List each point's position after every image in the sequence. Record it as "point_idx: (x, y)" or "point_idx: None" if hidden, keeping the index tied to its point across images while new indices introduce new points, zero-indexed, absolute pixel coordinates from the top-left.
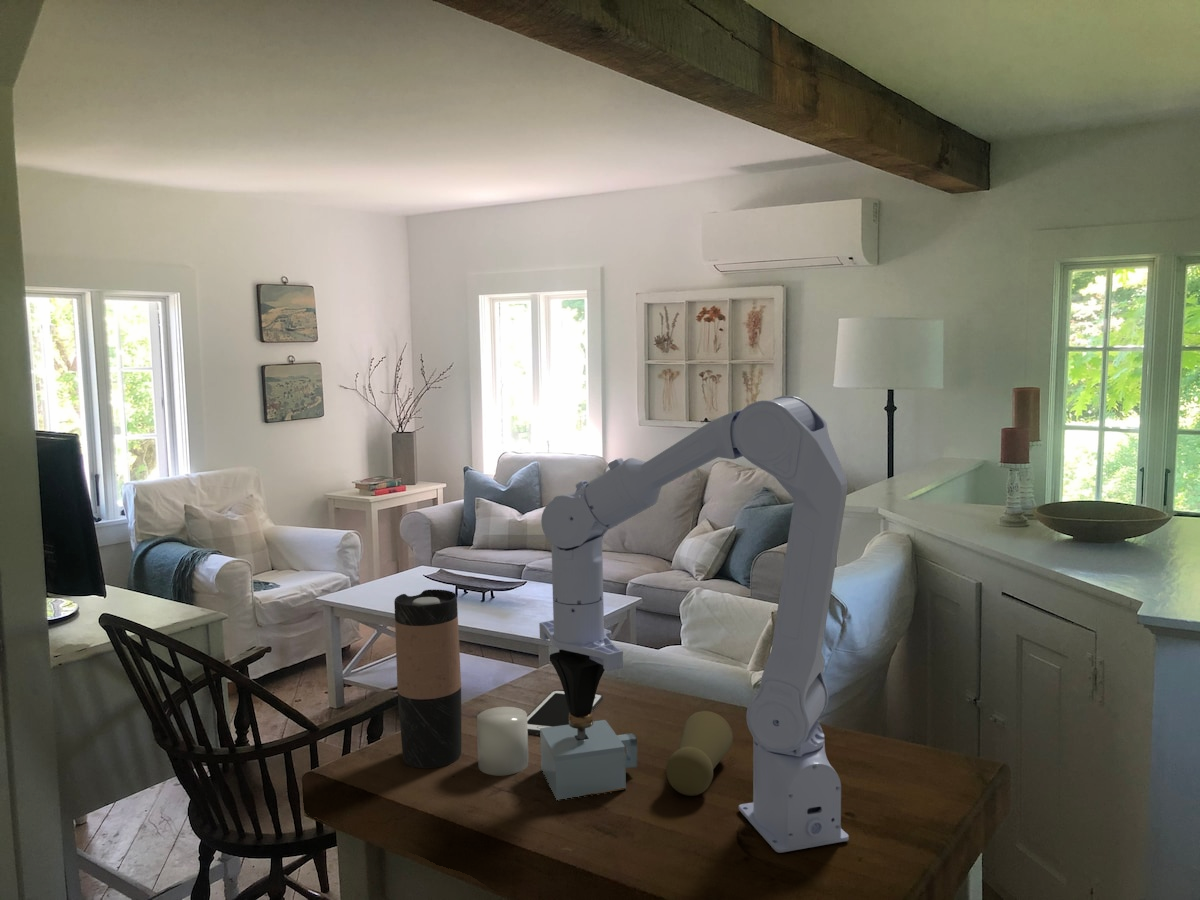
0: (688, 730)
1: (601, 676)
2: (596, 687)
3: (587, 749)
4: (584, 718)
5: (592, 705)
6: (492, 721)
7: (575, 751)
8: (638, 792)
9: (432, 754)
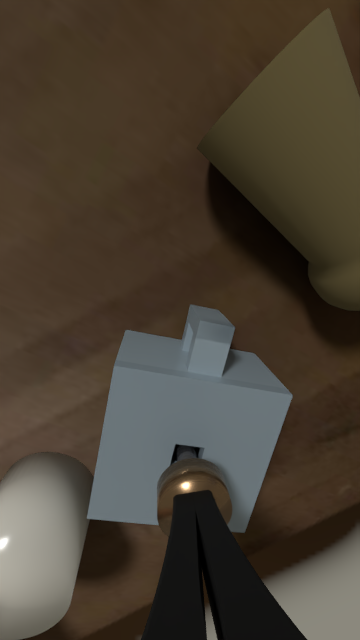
0: (301, 182)
1: (297, 629)
2: (257, 577)
3: (254, 470)
4: (230, 514)
5: (218, 509)
6: (29, 617)
7: (248, 494)
8: (272, 337)
9: None
